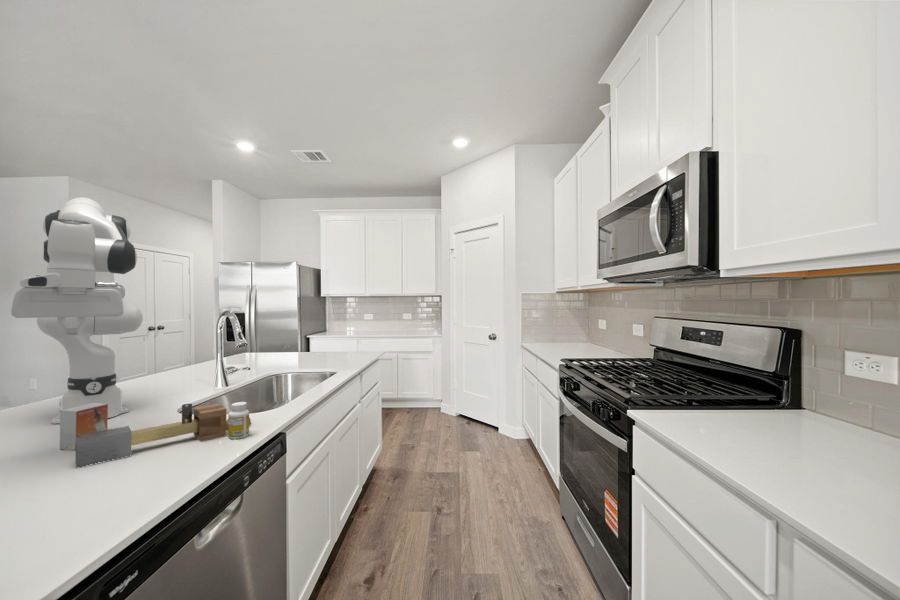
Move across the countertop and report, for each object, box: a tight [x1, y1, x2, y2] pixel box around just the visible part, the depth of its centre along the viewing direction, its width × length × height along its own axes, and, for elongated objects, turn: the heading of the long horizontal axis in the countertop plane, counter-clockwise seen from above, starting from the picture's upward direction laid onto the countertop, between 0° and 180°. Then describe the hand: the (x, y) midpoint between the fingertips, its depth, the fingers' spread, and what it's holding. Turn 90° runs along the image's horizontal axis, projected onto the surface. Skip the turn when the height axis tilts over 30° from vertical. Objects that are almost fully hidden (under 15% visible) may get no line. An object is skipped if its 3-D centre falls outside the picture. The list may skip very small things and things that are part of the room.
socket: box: [193, 403, 227, 442], centre depth 111 cm, size 8×6×8 cm
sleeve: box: [74, 425, 133, 469], centre depth 94 cm, size 6×10×6 cm, turn 137°
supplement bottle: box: [227, 401, 250, 440], centre depth 110 cm, size 5×5×10 cm
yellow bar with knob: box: [131, 403, 199, 447], centre depth 105 cm, size 3×20×8 cm, turn 136°
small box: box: [58, 403, 109, 451], centre depth 103 cm, size 8×6×10 cm
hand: (71, 334), depth 96 cm, fingers closed
